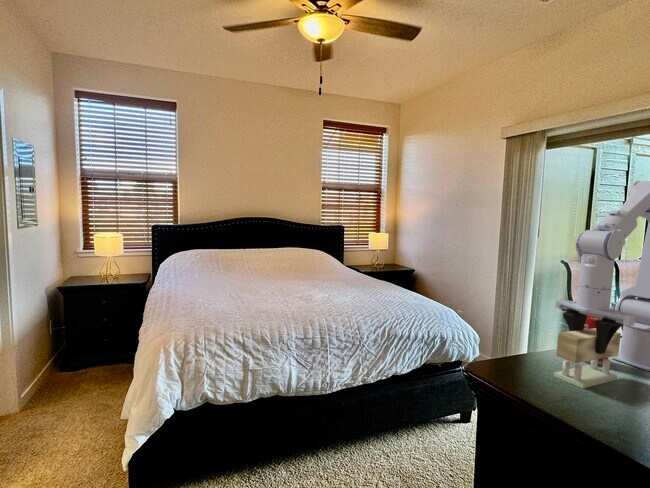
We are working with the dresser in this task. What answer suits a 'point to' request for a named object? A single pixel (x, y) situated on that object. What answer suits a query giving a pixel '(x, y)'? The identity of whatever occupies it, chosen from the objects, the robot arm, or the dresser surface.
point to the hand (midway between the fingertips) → (588, 349)
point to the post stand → (586, 374)
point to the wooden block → (584, 346)
